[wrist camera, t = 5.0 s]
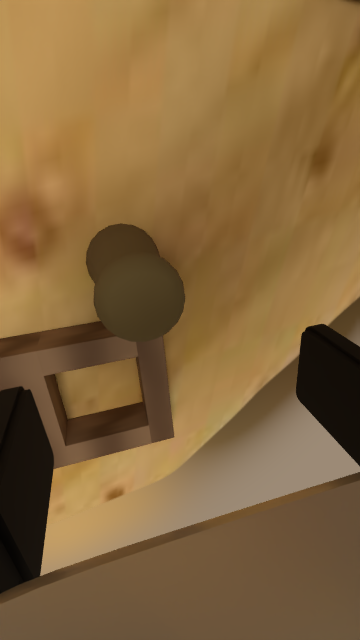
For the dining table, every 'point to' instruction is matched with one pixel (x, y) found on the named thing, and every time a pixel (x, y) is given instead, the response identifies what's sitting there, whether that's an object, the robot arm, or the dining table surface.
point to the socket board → (79, 352)
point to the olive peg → (133, 284)
